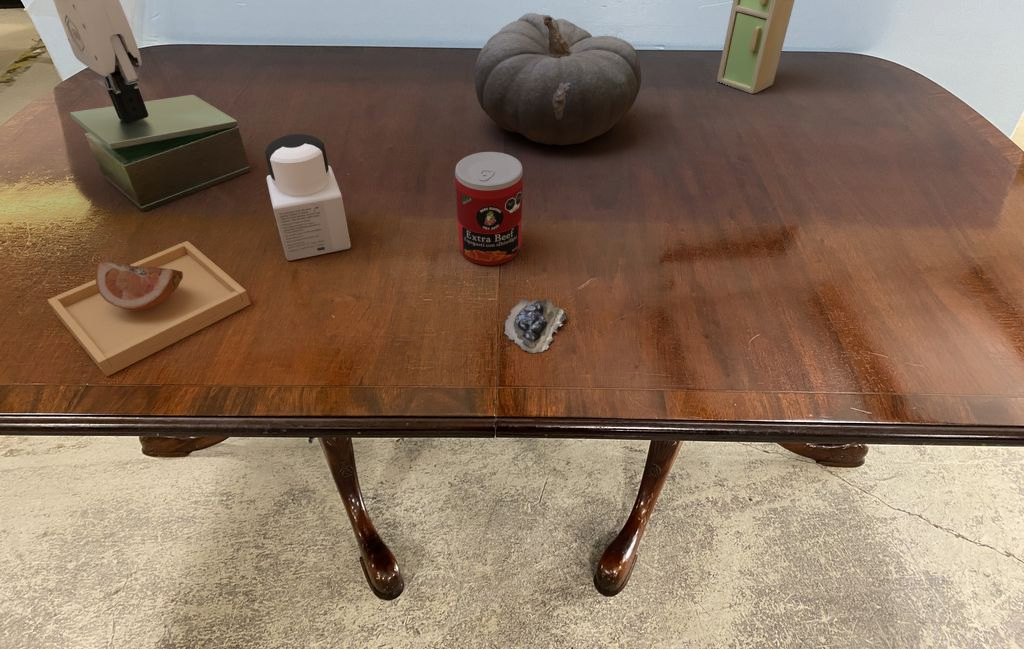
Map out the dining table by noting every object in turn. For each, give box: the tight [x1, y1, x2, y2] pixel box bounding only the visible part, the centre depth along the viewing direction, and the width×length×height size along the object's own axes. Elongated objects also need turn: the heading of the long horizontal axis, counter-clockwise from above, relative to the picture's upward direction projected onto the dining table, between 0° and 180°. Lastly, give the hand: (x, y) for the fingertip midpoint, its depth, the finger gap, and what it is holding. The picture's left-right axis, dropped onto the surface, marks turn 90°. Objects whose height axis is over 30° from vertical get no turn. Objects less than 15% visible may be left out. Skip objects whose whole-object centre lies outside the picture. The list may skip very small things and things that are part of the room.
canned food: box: [454, 151, 524, 266], centre depth 79 cm, size 8×8×11 cm
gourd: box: [474, 12, 642, 146], centre depth 103 cm, size 25×25×17 cm
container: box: [264, 133, 352, 261], centre depth 79 cm, size 8×8×13 cm
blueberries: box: [503, 298, 568, 354], centre depth 71 cm, size 7×8×2 cm
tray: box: [47, 240, 251, 377], centre depth 72 cm, size 16×14×2 cm
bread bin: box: [84, 126, 251, 213], centre depth 93 cm, size 16×13×7 cm
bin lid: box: [69, 94, 239, 149], centre depth 89 cm, size 16×13×1 cm
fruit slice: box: [95, 261, 183, 310], centre depth 71 cm, size 8×7×5 cm
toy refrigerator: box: [716, 0, 796, 95], centre depth 115 cm, size 8×7×21 cm
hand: (134, 118), depth 87 cm, fingers closed
